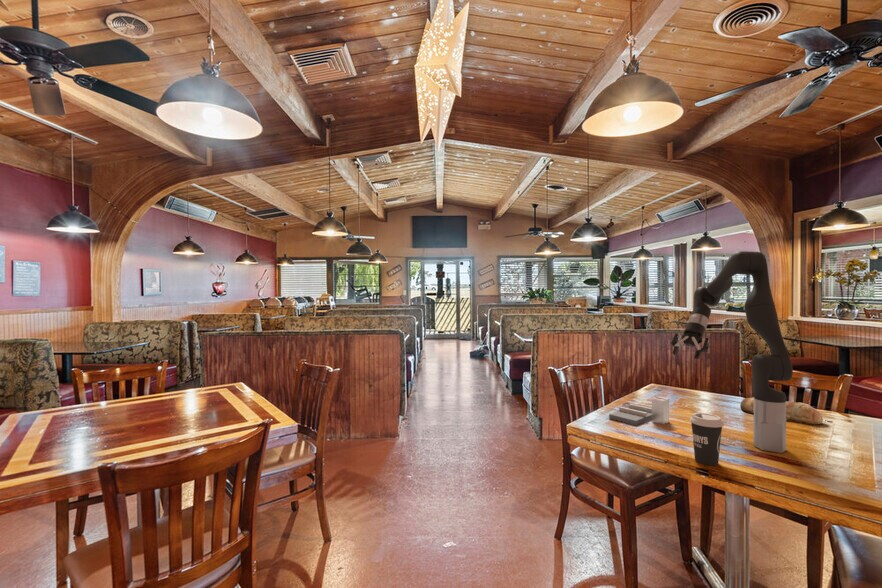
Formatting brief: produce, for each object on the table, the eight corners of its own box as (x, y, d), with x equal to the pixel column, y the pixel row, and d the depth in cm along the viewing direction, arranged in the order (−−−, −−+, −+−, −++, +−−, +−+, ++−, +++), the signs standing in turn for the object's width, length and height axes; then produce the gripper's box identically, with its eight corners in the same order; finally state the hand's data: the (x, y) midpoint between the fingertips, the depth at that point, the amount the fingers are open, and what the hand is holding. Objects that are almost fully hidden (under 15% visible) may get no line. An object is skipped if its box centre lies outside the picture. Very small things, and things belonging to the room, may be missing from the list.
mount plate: (664, 413, 192) (664, 405, 192) (636, 425, 176) (635, 417, 176) (638, 408, 202) (638, 400, 202) (609, 418, 186) (609, 410, 186)
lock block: (669, 422, 180) (669, 398, 180) (663, 424, 177) (663, 400, 177) (657, 419, 184) (657, 396, 184) (651, 421, 181) (651, 397, 181)
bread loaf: (728, 415, 193) (729, 395, 192) (734, 405, 206) (735, 386, 205) (832, 436, 169) (834, 413, 169) (832, 423, 182) (833, 401, 182)
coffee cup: (694, 453, 146) (694, 410, 146) (727, 461, 139) (727, 416, 139) (685, 461, 139) (685, 416, 139) (719, 470, 133) (719, 422, 132)
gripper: (677, 319, 194) (665, 349, 189) (711, 323, 183) (700, 355, 178) (682, 328, 198) (670, 358, 193) (716, 332, 187) (705, 364, 182)
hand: (685, 357), depth 186 cm, fingers open, 8 cm apart
